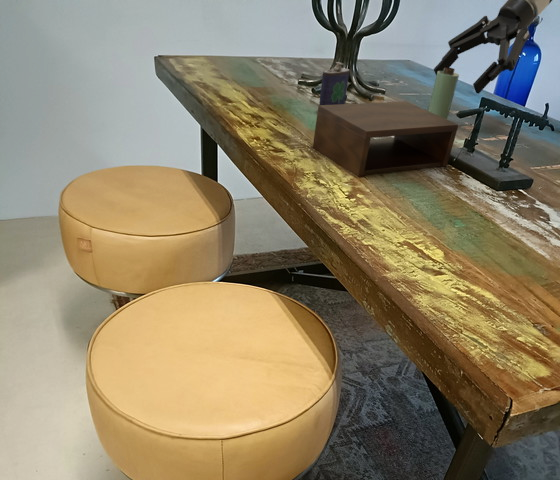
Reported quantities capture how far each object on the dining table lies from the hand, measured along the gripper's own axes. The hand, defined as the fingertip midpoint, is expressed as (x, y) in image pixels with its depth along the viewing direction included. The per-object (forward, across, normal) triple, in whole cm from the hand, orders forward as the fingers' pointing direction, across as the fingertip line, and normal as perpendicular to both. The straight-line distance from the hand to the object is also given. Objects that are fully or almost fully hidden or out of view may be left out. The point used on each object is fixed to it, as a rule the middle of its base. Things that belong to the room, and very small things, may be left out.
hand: (455, 81), depth 133 cm
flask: (+24, +13, +11) cm, 30 cm away
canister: (+9, 0, -4) cm, 10 cm away
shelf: (+30, -17, +17) cm, 38 cm away
